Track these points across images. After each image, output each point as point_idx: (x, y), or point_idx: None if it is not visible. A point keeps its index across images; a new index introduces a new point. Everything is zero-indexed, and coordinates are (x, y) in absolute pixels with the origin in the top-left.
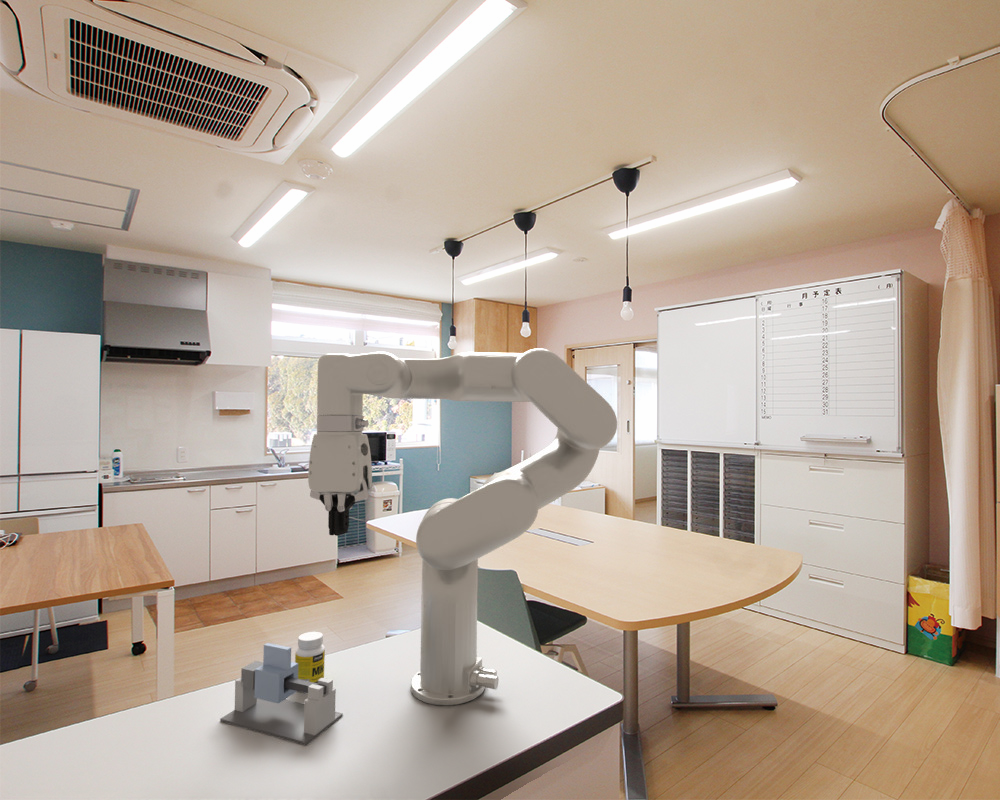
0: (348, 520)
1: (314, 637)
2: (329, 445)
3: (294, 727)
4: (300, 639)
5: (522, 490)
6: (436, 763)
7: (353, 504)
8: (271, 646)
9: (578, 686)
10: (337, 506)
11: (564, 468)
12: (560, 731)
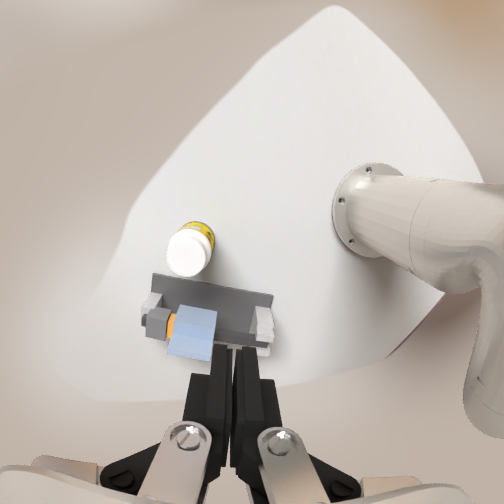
0: (276, 402)
1: (195, 263)
2: None
3: (234, 328)
4: (177, 274)
5: None
6: (378, 337)
7: (321, 465)
8: (181, 356)
9: None
10: (218, 463)
11: None
12: None
